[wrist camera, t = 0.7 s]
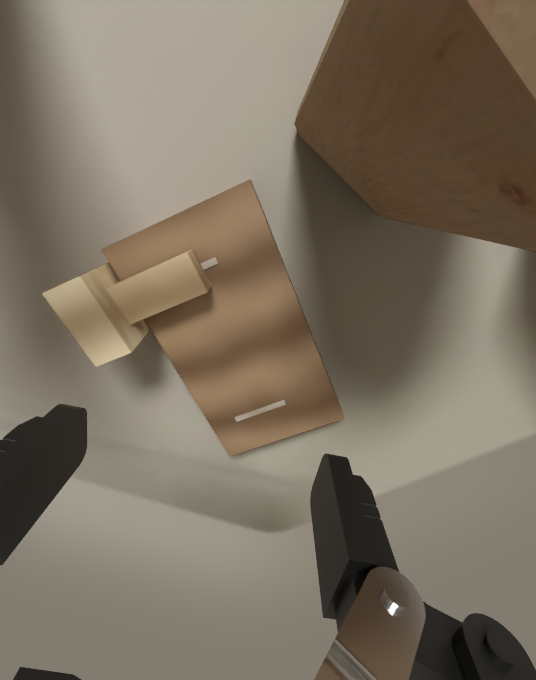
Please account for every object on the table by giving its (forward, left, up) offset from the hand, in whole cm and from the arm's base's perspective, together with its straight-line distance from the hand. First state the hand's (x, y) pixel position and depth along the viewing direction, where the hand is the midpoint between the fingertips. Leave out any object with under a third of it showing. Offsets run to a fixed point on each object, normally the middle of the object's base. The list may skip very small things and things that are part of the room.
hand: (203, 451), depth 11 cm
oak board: (+3, -2, -19) cm, 19 cm away
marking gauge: (-4, -6, -19) cm, 20 cm away
